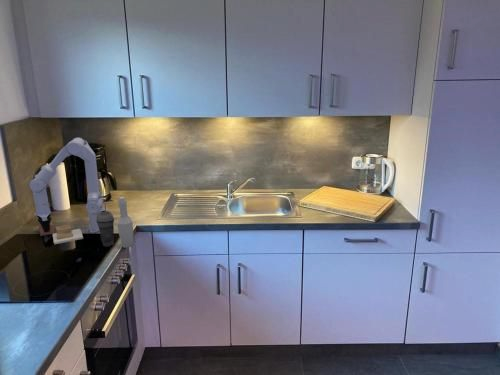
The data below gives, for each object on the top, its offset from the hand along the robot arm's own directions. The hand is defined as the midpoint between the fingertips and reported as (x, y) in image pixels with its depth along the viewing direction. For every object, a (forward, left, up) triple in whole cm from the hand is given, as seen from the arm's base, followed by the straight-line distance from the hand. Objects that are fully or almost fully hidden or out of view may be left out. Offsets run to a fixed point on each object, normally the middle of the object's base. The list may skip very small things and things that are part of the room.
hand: (46, 230), depth 193 cm
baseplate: (-8, +11, -1) cm, 13 cm away
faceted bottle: (-30, +35, -2) cm, 46 cm away
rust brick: (0, 0, -1) cm, 1 cm away
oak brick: (-7, +11, 0) cm, 13 cm away
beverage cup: (-23, +29, -2) cm, 37 cm away
